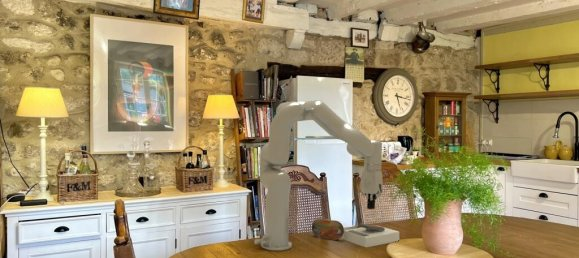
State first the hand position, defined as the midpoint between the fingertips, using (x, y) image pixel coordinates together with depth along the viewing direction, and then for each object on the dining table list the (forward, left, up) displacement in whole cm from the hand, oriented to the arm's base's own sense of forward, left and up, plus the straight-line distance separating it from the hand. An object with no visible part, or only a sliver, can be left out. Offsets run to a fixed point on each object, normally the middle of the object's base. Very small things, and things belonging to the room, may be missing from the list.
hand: (370, 208), depth 192 cm
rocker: (-3, -3, -7) cm, 8 cm away
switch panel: (-3, -3, -13) cm, 14 cm away
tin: (-17, +9, -13) cm, 24 cm away
